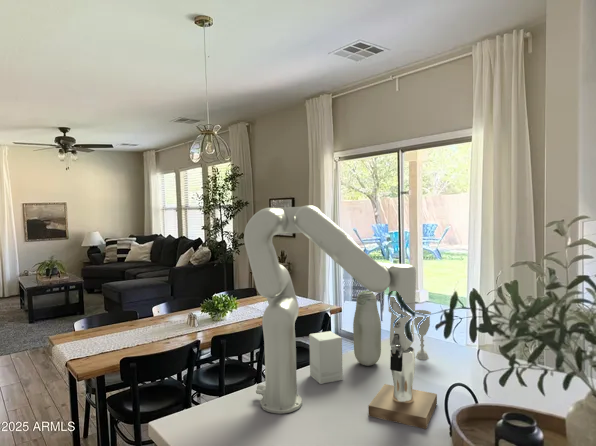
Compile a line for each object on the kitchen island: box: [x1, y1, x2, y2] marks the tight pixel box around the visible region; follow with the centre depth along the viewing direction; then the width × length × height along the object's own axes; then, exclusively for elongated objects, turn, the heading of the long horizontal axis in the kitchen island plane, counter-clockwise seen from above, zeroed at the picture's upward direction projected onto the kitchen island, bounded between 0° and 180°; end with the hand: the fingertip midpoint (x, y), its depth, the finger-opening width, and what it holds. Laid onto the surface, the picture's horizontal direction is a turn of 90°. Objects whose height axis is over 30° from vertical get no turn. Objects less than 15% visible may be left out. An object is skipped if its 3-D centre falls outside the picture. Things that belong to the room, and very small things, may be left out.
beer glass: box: [390, 345, 416, 404], centre depth 120 cm, size 7×7×15 cm
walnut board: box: [367, 383, 438, 430], centre depth 120 cm, size 16×16×3 cm
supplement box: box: [308, 330, 344, 385], centre depth 144 cm, size 9×9×15 cm
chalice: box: [413, 309, 432, 361], centre depth 161 cm, size 7×7×18 cm
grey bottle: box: [352, 290, 382, 367], centre depth 155 cm, size 10×10×28 cm
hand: (400, 364), depth 120 cm, fingers open, 9 cm apart
